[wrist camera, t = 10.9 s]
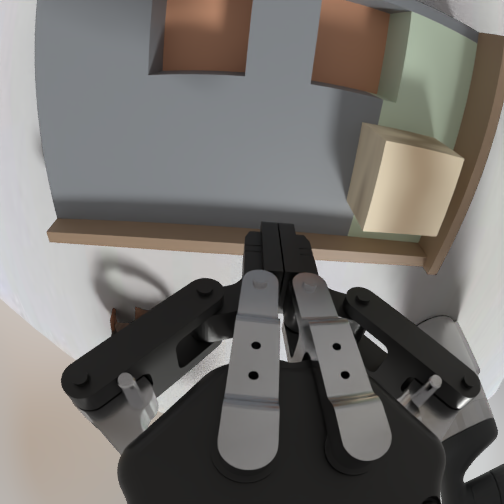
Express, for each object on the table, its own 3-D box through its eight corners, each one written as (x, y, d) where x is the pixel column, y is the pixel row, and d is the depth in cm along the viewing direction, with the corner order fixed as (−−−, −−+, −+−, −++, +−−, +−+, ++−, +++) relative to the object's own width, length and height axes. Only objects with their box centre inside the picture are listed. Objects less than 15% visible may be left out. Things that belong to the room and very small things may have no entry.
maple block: (434, 137, 18) (464, 158, 15) (413, 207, 22) (436, 236, 19) (362, 122, 18) (385, 140, 15) (346, 200, 22) (362, 231, 18)
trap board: (458, 34, 16) (513, 42, 10) (406, 227, 28) (436, 274, 22) (65, -5, 13) (12, -10, 8) (78, 204, 26) (44, 249, 20)
